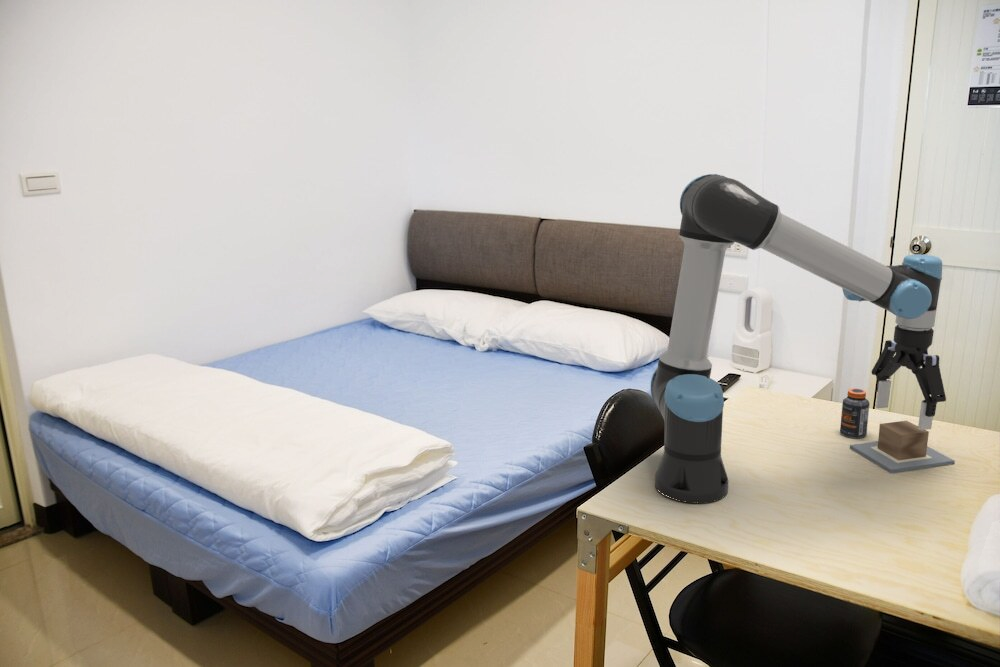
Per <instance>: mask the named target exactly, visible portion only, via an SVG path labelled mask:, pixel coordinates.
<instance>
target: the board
mask: <svg viewBox="0 0 1000 667" xmlns="http://www.w3.org/2000/svg"><path fill="white" fill-rule="evenodd" d="M849 449H851V450H852V451H853V452H856V453H857V454H858V455H860V456H862V457H864V458H866V459H867V460H869V461H870V462H872V463H874V464H875V465H877V466H879V467H880V468H882V469H884V471H887V472H888V473H890V474H893V473H894V474H895V473H901V472H907V471H908V472H909V471H914V470H922V469H928V468H935V467H936V466H937V467H943V466H942V465H944V466H949V464H951V465H955V460H954V459H952V458H950V457H949V456H947V455H945V454H943V453H941V452H939V451H937V450H936V449H934V448H931V447H929V446H928V445H927V452H926V457H919V458H912V459H905V460H897V459H895V458H894V457H892V456H890V455H888V454H887V453H885V452H883V451H881V450H880V449H878V440H876V441H871V442H861V443H855V444H853V443H852V444H849Z"/></svg>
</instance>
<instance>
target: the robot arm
mask: <svg viewBox="0 0 1000 667" xmlns="http://www.w3.org/2000/svg"><path fill="white" fill-rule="evenodd" d="M682 190H683V191H682V193H681V195H680V199H679V209H680V213H681V220H680V228H679V234H678V237H679V238H680V239H681V241H682V242H683V243H684V244H683V245H684V248H683V253H682V260H681V266H680V272H679V276H678V277H679V278H678V284H677V289H676V290H677V291H676V295H675V296H676V297H675V301H674V309H673V314H672V320H671V327H670V333H669V339H668V343H667V344H668V345H667V350H666V351H664V352H662V353H661V354H660V355H659V357H658V361H657V362H658V363H657V367H656V369H655V370H654V371H653V374H652V376H651V378H650V393H651V398H652V399H653V402H654V404H655V405H656V406H657V408H658V411H659V412H660V414H661V416H662V418H663V420H664V438H663V439H664V441H663V442H664V443H663V445H664V446H663V453H662V456H661V459H660V461H659V464H658V466H657V470H656V472H655V476H654V487H655V486H656V487H655V489H656V488H657V489H658V490H659V491H660V492H661V493H663V494H664V495H667V496H669V497H671V498H674V499H677V500H680V501H686V502H696V503H695V504H704V503H703V502H708V503H711V502H710V501H713V502H715V501H714V500H717V499H719V500H721V499H723V498H724V497H726V495H727V494H728V492H729V477H728V474H727V471H726V468H725V465H724V462H723V458H722V434H723V433H722V432H723V417H724V416H723V415H724V414H723V413H724V405H725V399H724V392H723V391H724V390H723V388H722V385H720V383H718V382H717V381H716V380H714V379H713V378H711V373H712V368H713V363H711V361H710V359H709V358H708V349H709V345H710V344H709V343H710V339H711V333H712V330H713V329H712V327H713V324H714V323H713V322H714V316H715V312H716V305H717V300H718V294H719V290H720V289H719V288H720V283H721V277H722V273H723V266H724V260H725V257H726V256H725V255H726V250H728V248H730V247H732V246H733V245H734V244H735V243H736V244H740V245H742V246H743V247H746V248H748V249H751V250H752V251H756V250H758V249H762V250H764V251H766V252H768V253H770V254H772V255H775V256H776V257H778V258H781V259H782V260H784V261H786V262H788V263H791V264H793V265H795V266H797V267H798V268H801V269H803V270H804V271H807V272H809V273H811V274H813V275H815V276H817V277H819V278H821V279H823V280H825V281H827V282H830V283H832V284H833V285H835V286H837V287H839V288H842V292H843V295H844V297H845V298H846V300H849V301H856V302H861V303H862V302H863V301H864V302H865V301H866V302H870V303H871V304H873V305H875V306H877V307H879V308H881V309H884V310H886V311H887V312H890V313H891V314H893V315H894V316H895V322H894V323H896V325H895V326H894V332H893V339H892V340H888V339H887V340H885V342H884V347H883V350H882V352H881V353H880V355H879V357H878V359H877V361H876V363H874V366H873V368H872V370H871V374H872V375H873V376H876V380H877V385H876V392H877V394H876V402H875V408H876V409H885V408H889V404H890V403H889V401H890V395H891V386H892V380H891V379H892V376H893V375H894V374H895V373H897V371H898V370H899V369H900V368H901V367H905V368H906V369H908V370H911V372H912V373H913V374H914V375H915V378H916V380H917V382H918V385H919V388H920V390H921V393H922V395H923V397H924V399H923V400H921V405H920V410H919V416H918V417H919V418H918V425H917V426H918V429H919V430H927V431H928V430H932V425H933V420H934V417H935V415H936V410H937V405H938V403H940V402H942V403H943V402H946V401H947V397H946V392H945V388H944V387H945V386H944V383H943V379H942V374H941V369H940V356H939V355H938V354H935V355H931V354H929V353H928V352H929V351H928V350H929V348H930V347H931V346H932V345H933V338H934V332H935V330H934V329H933V328H934V327H935V325H936V324H935V323H936V316H937V311H938V310H937V309H938V304H939V302H938V301H939V296H940V295H939V294H940V290H941V283H942V280H943V260H942V259H941V258H940V257H937V256H934V255H931V254H930V255H928V254H907V255H905V256H904V257H903V260H902V262H901V264H897V265H885V264H882V263H881V262H879V261H877V260H875V259H873V258H871V257H868V256H867V255H865V254H863V253H861V252H859V251H857V250H854V249H853V248H851V247H849V246H847V245H845V244H843V243H841V242H839V241H837V240H835V239H833V238H831V237H830V236H828V235H825V234H823V233H821V232H819V231H817V230H816V229H813V228H811V227H809V226H807V225H806V224H803V223H801V222H799V221H797V220H795V219H794V218H791V217H790V216H788V215H786V214H784V213H782V212H781V209H780V206H779V205H778V204H775V203H773V202H771V201H769V200H768V199H766V198H765V197H763V196H762V195H760V194H758V193H757V192H755V191H754V190H752V189H751V188H749V187H748V186H747V185H745V184H744V183H743V182H740V181H739V180H736V179H735V178H730V177H727V176H724V175H721V174H717V173H714V174H713V173H711V174H710V173H709V174H704V175H703V174H702V175H700V176H698V177H695V178H693V179H692V180H691V181H690V182H689V183H687V185H686V186H685V187H684V189H682ZM657 489H656V490H657ZM658 490H657V491H658ZM661 493H660V494H661ZM664 495H663V496H664ZM723 496H724V497H723ZM722 497H723V498H722ZM720 498H721V499H720ZM680 501H679V502H680ZM717 501H718V500H717ZM686 502H685V503H686ZM697 502H698V503H697ZM701 502H702V503H701Z"/></svg>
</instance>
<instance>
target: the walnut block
mask: <svg viewBox="0 0 1000 667" xmlns="http://www.w3.org/2000/svg"><path fill="white" fill-rule="evenodd" d="M878 430H879V431H878V438H877V441H878V449H880V450H881V451H883V452H885V453H887V454H888V455H890V456H892V457H894V458H895V459H897V460H905V459H912V458H919V457H926V452H927V446H928V442H929V433H930V432H929V430H928V429H927V430H919V429H918V425H916V424H914V423H912V422H910V421H908V420H901V421H892V422H884V423H880V424H879V429H878Z"/></svg>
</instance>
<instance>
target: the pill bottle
mask: <svg viewBox="0 0 1000 667" xmlns="http://www.w3.org/2000/svg"><path fill="white" fill-rule="evenodd" d="M846 395H847V396H846V397H844V398H843V399H842V406H841V416H840V417H841V419H840V428H839V432H840V434H841V435H843V436H844V437H846V436H847V437H846V438H850V439H851V438H852V439H863V438H864V437H866V436H867V433H868V432H867V431H868V423H869V412H870V401H869V400H868V399H867V398H866V396H867V391H866V390H865V389H862V388H857V387H856V388H855V387H854V388H849V389H848V390H847V394H846Z"/></svg>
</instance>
